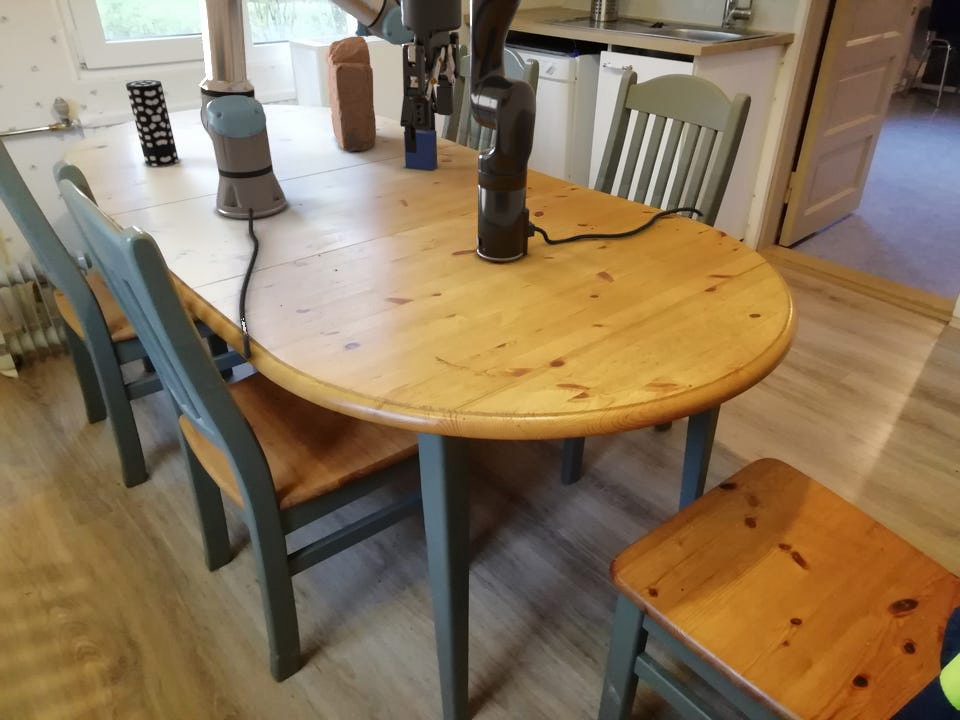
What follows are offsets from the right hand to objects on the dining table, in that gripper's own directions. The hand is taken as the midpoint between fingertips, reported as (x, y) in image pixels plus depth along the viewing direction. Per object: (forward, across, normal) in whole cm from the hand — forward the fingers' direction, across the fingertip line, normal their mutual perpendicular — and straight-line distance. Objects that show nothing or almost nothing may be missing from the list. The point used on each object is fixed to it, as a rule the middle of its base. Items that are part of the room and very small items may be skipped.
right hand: (434, 121), depth 93 cm
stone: (+33, -97, -63) cm, 120 cm away
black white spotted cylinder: (+23, -61, -103) cm, 122 cm away
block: (+33, -81, -36) cm, 95 cm away
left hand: (+28, -81, -36) cm, 93 cm away
